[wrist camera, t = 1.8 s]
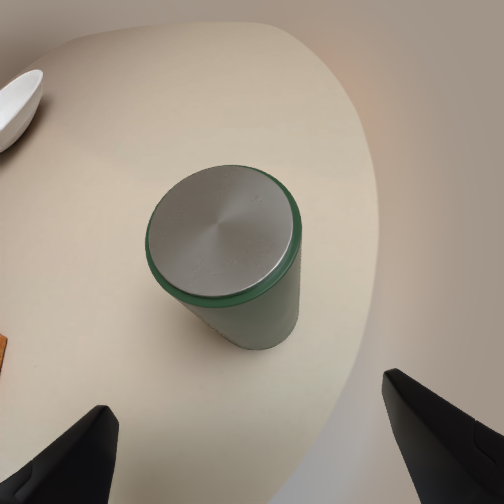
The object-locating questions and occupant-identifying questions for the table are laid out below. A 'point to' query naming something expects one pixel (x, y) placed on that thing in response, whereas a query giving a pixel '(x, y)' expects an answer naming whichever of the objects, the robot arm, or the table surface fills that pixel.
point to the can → (230, 252)
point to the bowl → (19, 106)
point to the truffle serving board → (2, 347)
